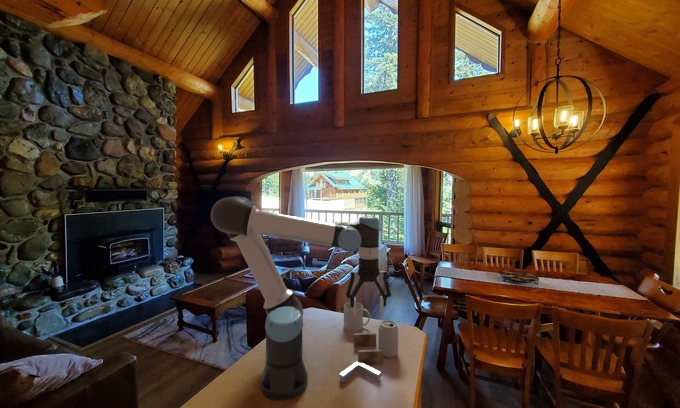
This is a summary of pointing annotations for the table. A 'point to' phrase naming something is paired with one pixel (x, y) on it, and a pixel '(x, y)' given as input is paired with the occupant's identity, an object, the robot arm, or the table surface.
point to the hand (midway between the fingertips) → (368, 314)
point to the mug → (351, 321)
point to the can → (388, 338)
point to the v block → (362, 369)
